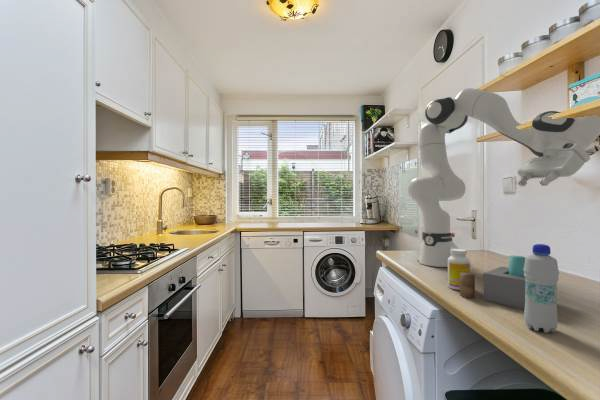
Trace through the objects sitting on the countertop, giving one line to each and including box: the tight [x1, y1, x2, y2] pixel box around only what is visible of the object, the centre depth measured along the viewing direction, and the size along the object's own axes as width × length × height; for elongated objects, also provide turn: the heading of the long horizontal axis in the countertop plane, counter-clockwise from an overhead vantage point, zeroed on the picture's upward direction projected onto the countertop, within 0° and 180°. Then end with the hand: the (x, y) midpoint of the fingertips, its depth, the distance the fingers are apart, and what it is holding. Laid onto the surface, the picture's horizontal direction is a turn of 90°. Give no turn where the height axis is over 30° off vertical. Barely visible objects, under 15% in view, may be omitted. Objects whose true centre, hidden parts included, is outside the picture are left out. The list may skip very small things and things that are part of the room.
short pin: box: [459, 272, 476, 299], centre depth 100 cm, size 4×4×7 cm
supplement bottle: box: [447, 248, 471, 291], centre depth 109 cm, size 7×7×13 cm
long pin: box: [508, 255, 526, 277], centre depth 96 cm, size 4×4×13 cm
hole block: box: [482, 266, 526, 310], centre depth 96 cm, size 13×13×8 cm
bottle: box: [523, 243, 560, 334], centre depth 76 cm, size 7×7×20 cm
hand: (531, 184), depth 106 cm, fingers open, 8 cm apart
